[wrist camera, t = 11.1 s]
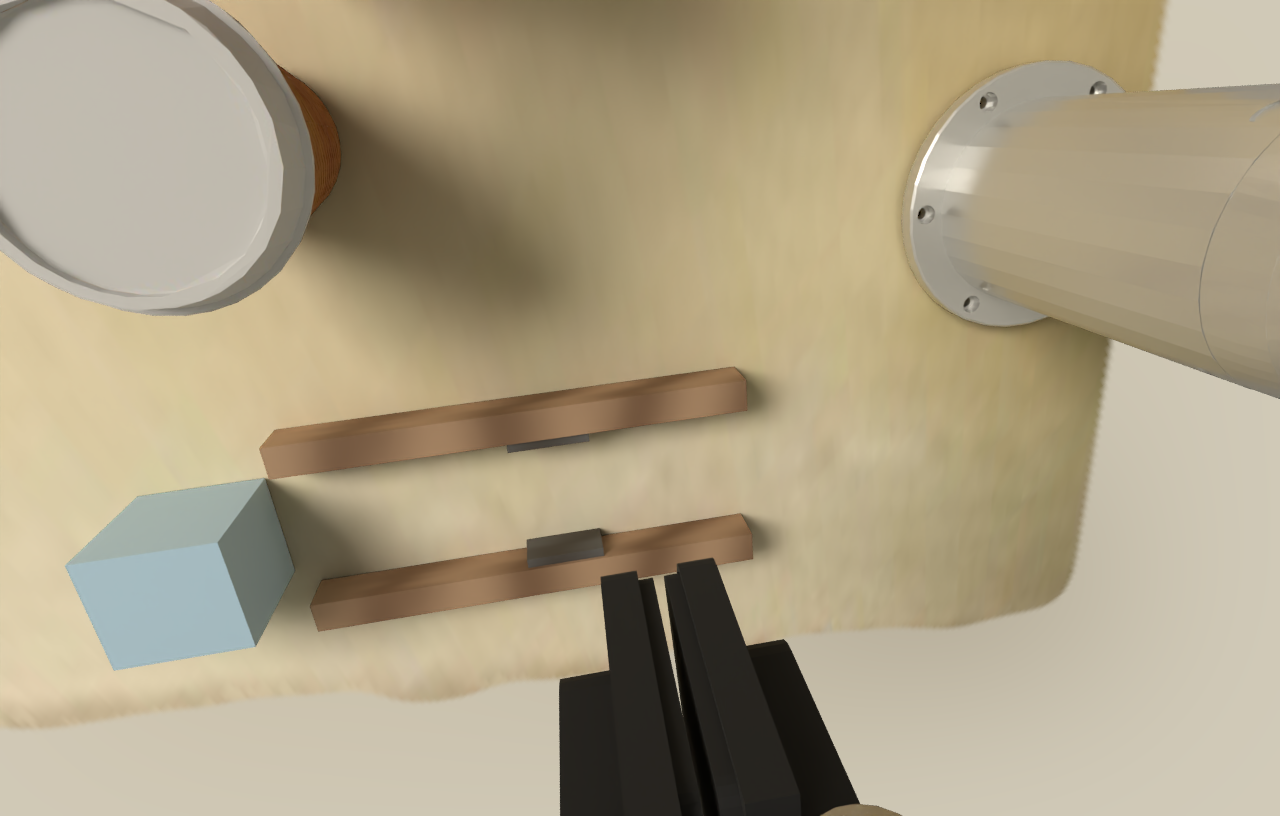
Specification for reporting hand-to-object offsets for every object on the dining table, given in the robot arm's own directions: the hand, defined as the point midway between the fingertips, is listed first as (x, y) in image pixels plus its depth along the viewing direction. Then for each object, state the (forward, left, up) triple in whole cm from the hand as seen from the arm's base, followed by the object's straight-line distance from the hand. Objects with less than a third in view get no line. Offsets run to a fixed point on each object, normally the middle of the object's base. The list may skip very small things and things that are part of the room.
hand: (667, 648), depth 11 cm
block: (+19, +10, -26) cm, 34 cm away
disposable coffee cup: (+12, -8, -26) cm, 30 cm away
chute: (+4, +10, -26) cm, 28 cm away
